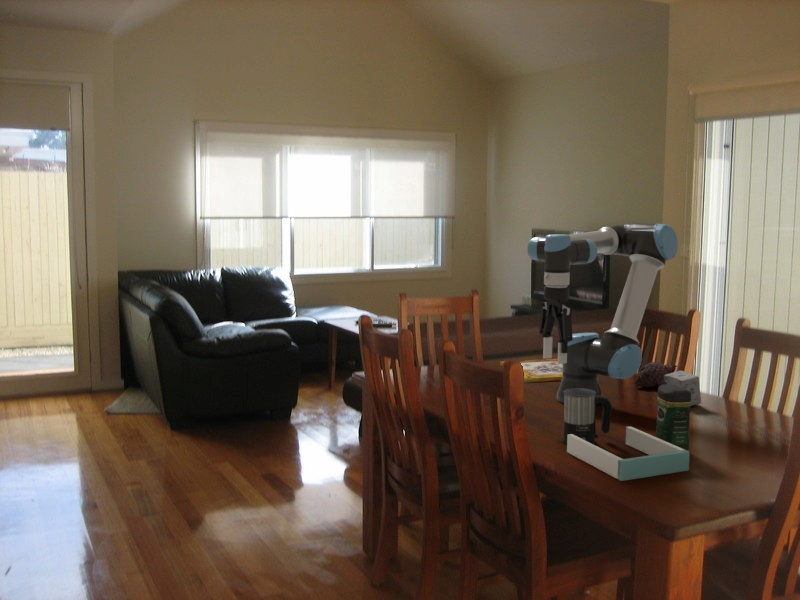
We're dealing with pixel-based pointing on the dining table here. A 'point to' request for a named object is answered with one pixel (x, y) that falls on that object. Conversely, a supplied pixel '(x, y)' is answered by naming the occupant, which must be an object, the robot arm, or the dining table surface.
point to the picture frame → (541, 370)
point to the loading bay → (656, 463)
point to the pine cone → (653, 374)
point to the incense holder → (686, 384)
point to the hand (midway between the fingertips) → (554, 360)
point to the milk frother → (584, 413)
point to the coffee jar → (673, 415)
